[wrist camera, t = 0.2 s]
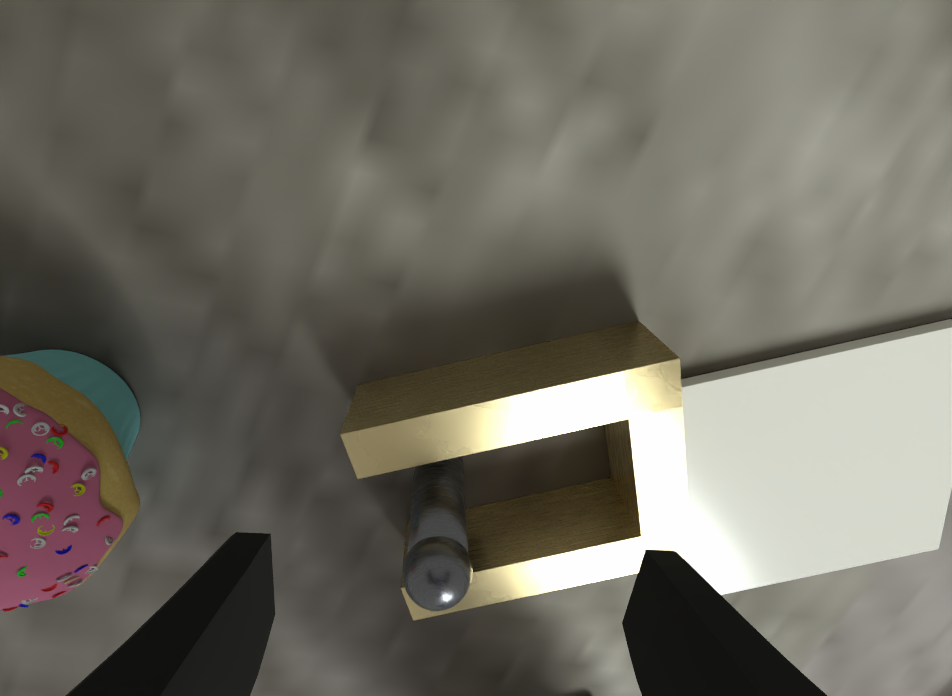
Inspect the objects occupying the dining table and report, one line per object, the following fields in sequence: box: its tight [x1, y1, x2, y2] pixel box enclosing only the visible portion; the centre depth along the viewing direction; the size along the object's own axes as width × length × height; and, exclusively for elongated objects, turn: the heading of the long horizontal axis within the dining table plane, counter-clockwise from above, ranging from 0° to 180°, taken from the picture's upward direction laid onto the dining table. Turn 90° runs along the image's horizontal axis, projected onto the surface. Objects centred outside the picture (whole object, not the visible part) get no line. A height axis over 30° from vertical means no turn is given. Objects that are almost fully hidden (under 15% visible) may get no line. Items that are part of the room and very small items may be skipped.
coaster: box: [681, 319, 952, 595], centre depth 21 cm, size 12×12×1 cm
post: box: [402, 456, 472, 611], centre depth 17 cm, size 2×2×7 cm
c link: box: [340, 321, 692, 621], centre depth 19 cm, size 9×11×4 cm
